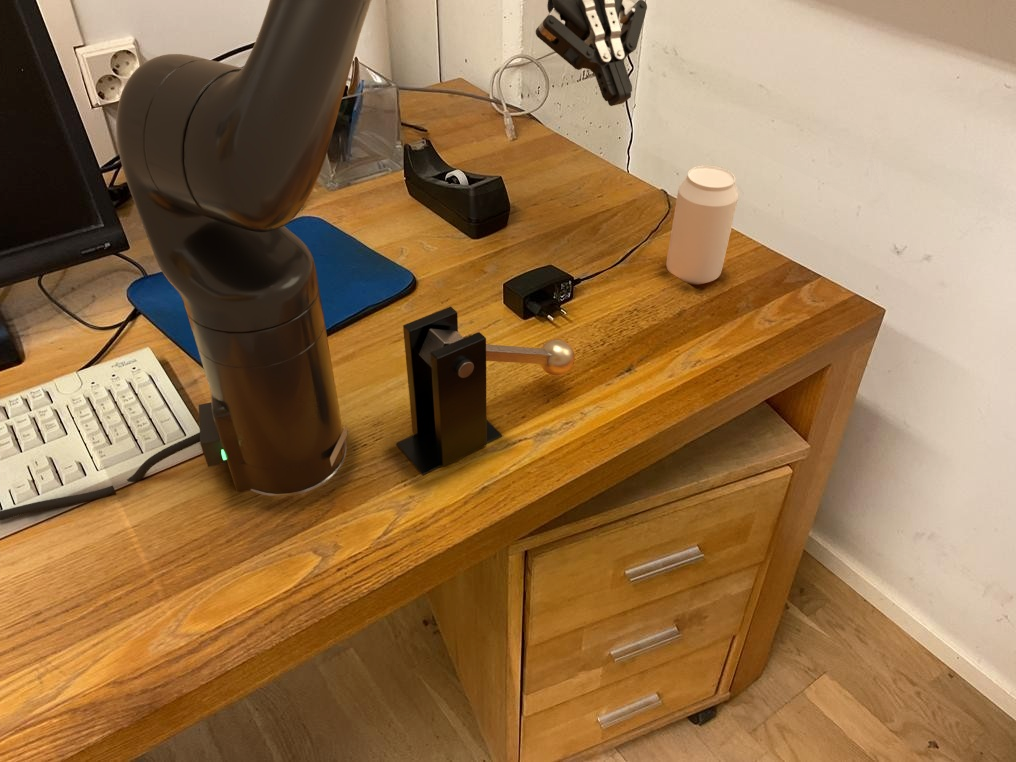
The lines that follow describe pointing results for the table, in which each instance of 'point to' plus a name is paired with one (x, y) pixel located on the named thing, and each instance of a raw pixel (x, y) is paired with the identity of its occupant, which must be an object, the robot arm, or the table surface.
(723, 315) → the table surface
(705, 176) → the beverage can
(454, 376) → the bracket
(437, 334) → the lever
